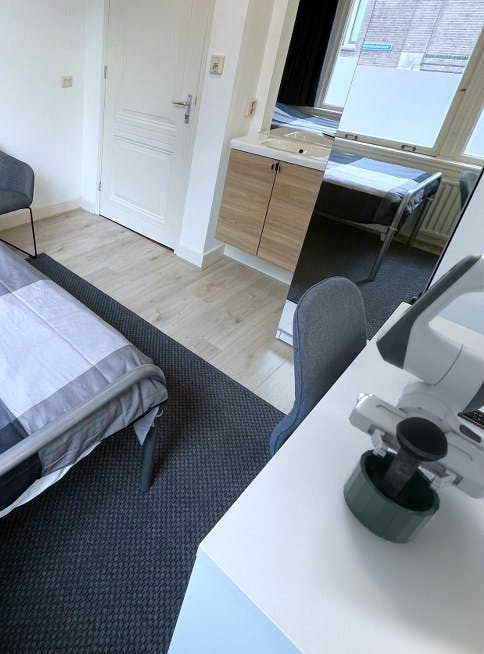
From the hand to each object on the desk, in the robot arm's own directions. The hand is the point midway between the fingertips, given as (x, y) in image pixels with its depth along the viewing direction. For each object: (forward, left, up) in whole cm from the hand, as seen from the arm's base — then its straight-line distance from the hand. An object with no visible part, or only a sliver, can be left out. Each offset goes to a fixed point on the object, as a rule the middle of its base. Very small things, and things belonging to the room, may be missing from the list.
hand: (406, 470), depth 69 cm
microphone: (0, -1, -11) cm, 11 cm away
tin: (0, -1, -12) cm, 12 cm away
